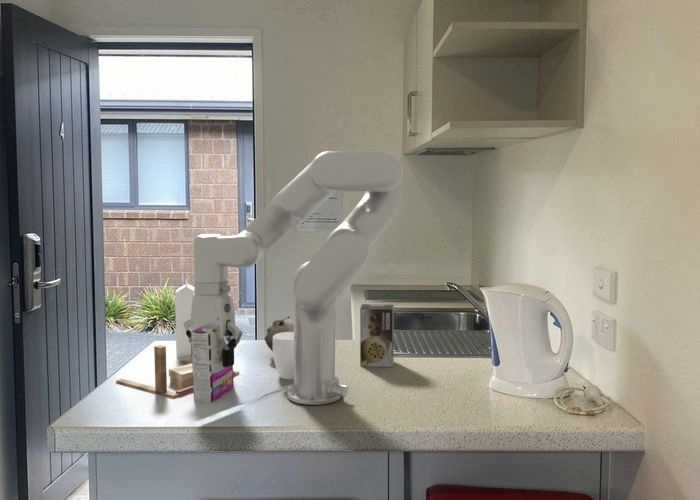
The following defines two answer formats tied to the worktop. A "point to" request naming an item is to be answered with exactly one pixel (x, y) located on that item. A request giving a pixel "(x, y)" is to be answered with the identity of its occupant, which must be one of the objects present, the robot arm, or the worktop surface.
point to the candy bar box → (209, 366)
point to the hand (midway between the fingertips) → (212, 362)
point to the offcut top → (182, 373)
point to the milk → (183, 318)
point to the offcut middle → (181, 383)
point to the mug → (284, 354)
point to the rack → (161, 376)
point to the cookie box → (376, 335)
